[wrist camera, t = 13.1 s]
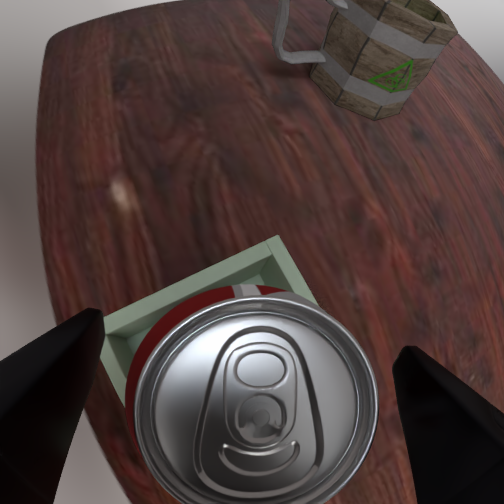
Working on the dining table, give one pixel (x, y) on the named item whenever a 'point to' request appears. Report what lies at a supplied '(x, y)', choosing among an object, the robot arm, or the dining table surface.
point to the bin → (219, 275)
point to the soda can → (251, 399)
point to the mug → (372, 51)
